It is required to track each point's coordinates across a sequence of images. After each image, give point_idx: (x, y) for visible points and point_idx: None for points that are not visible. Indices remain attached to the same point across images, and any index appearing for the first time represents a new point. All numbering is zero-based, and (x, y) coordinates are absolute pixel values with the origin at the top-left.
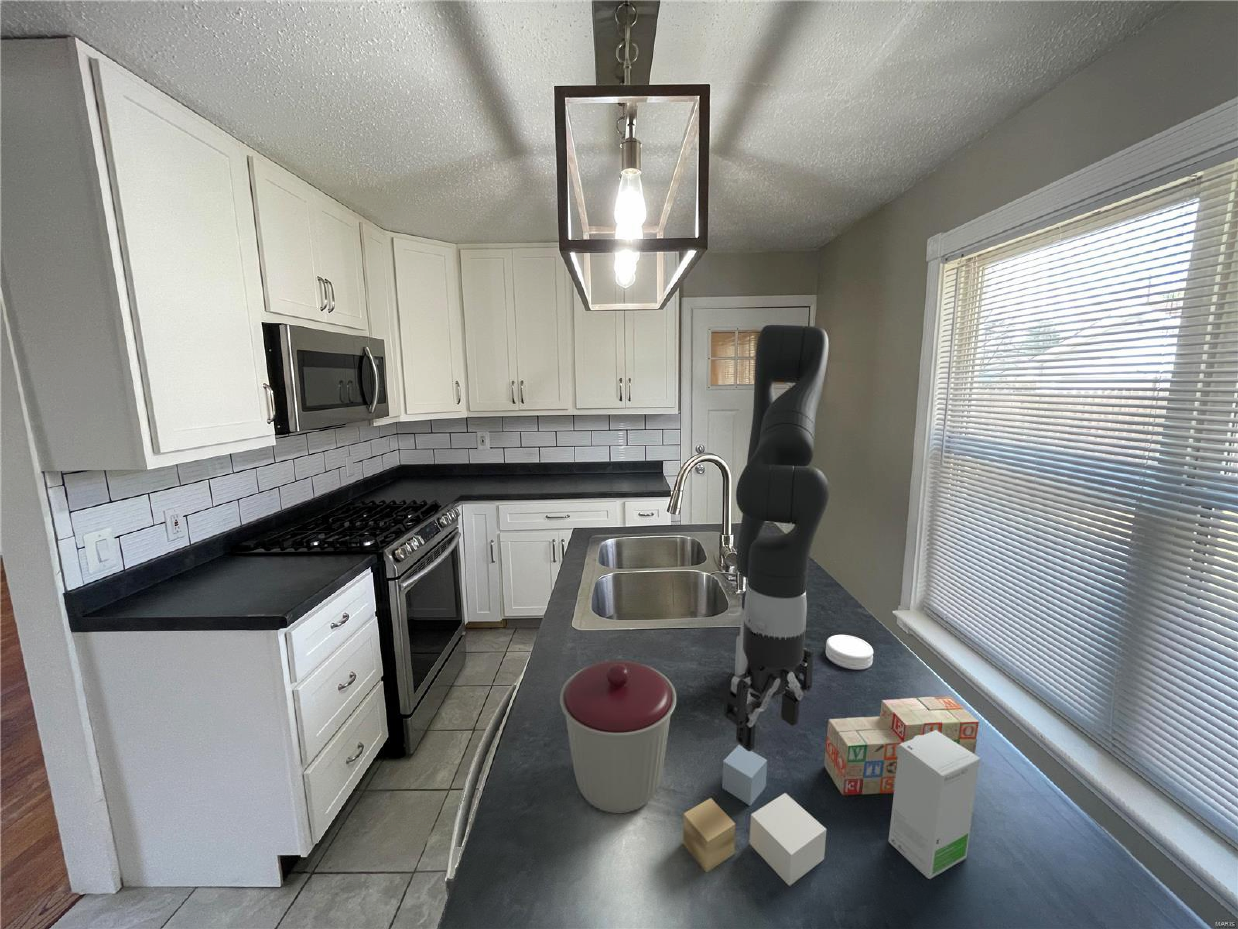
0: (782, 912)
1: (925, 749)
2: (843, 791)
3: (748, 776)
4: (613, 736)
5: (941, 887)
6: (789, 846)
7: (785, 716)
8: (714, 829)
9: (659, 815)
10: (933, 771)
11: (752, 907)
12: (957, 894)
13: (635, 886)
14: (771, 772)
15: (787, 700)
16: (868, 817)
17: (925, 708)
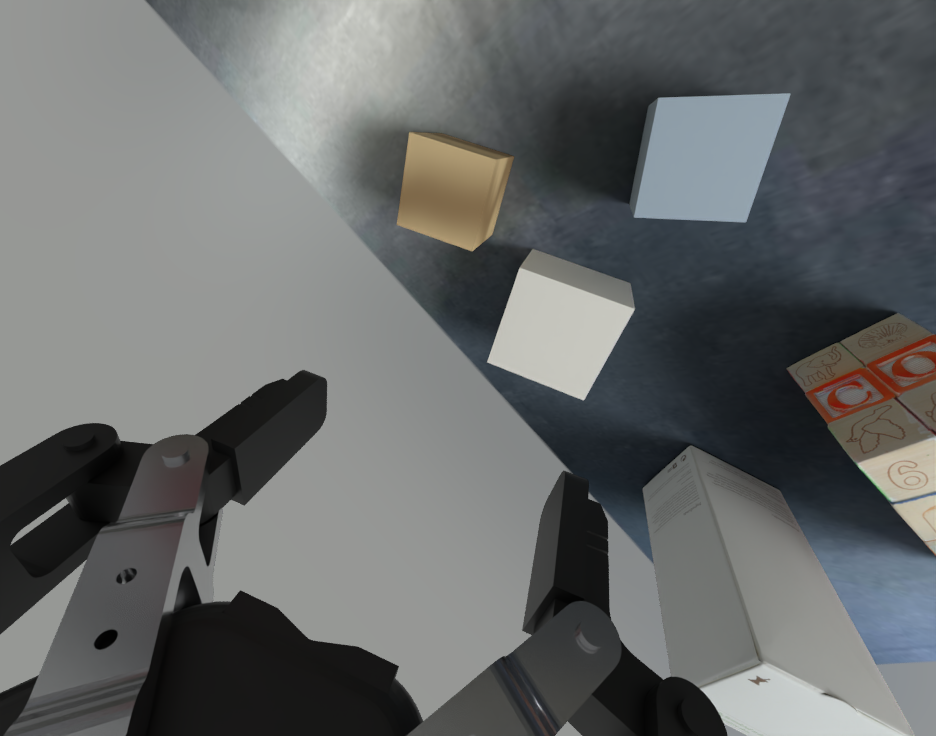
0: (459, 336)
1: (770, 704)
2: (791, 374)
3: (636, 205)
4: None
5: (641, 497)
6: (501, 355)
7: (556, 497)
8: (428, 220)
9: (458, 23)
10: None
11: (435, 300)
12: (642, 510)
13: (317, 119)
14: (793, 196)
15: (542, 586)
16: (740, 414)
17: None
